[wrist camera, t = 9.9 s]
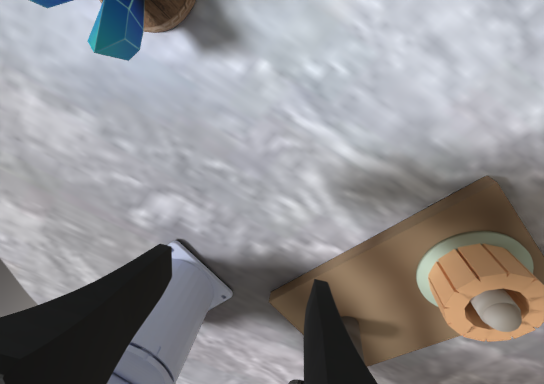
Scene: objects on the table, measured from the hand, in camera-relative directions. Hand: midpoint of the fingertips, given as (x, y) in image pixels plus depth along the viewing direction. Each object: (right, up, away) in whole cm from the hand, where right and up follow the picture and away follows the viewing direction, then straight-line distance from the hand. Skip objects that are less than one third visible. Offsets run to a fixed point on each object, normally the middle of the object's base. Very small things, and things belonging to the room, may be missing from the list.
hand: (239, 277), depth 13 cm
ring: (+17, -2, +7) cm, 18 cm away
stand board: (+13, -4, +10) cm, 17 cm away
